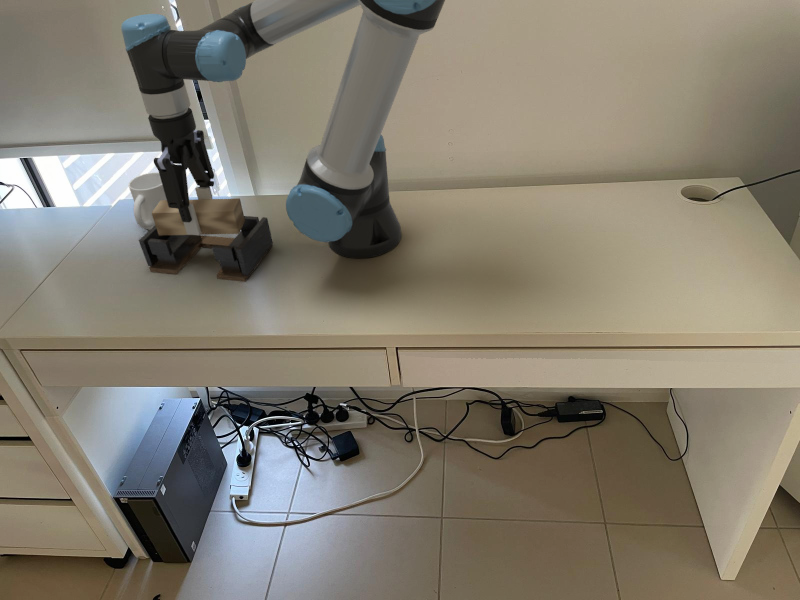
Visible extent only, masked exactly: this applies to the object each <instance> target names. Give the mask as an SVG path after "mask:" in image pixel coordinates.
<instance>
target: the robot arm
mask: <svg viewBox="0 0 800 600" xmlns="http://www.w3.org/2000/svg"><path fill="white" fill-rule="evenodd" d="M445 2H446V0H254V1H252V2H250V3H247V4H246V5H243V6H241V7H239V8H236V9H235V10H233V11H231V12H230V13H229V14H227V15H225V16H223V17H221V18H219V19H217V20H215V21H213V22H212V23H210V24H209V23H208V25H206V26H204V27H202V28H200V29H197V30H174V29H172V28H171V25H170V24H169V21H168V18H167V17H166V15H163V14H158V13H148V14H147V13H145V14H140V15H136V16H131V17H129V18H127V19H125V20H124V21H123V22H122V24H121V26H120V27H121V33H122V37H123V38H122V39H123V43H124V45H125V51H126V53H127V56H128V59H129V61H130V65H131V67H132V71H133V72H134V77H135V80H136V82H137V86H138V89H139V91H140V95H141V98H142V102H143V106H144V109H145V112H146V114H148V117H147V119H148V122H149V126H150V128H151V132H152V134H153V137H155V138H156V139H158V141H160V145H161V146H160V147H161V149H160V150H161V154H160V156H159V157H154V158H153V164H154V166H155V168H156V170H158V171H157V172H158V173H159V174H160V178H161V182H162V185H163V189H164V192H165V196H166V199H167V203H168V206H169V208H178V210H179V213H180V216H181V219H182V221H183V222H184V226H185V229H186V232H187V234H189V235H200V234H201V230H200V227H199V223H198V220H197V216H196V213H195V210H194V206H193V204H191V203H189V200H190V197H189V196H190V195H189V187H188V178H187V170H189V172H190V174H191V176H192V179H193V180H194V182H195V183H196V187H195V188H194V191H195V192H196V193H195V194H196V196H197V199H213V195H212V191H211V190H212V189H211V188H210V187H214V186H215V181H214V179H215V172H214V170H213V169H214V168H213V167H212V162H211V160H210V157H209V153H208V150H207V147H206V144H205V135H204V130H201V129H197V124H196V121H195V116H194V114H193V109H192V108H191V107H190V106H191V102H190V97H189V93H188V90H187V87H186V83H185V80H189V81H190V80H191V81H205V82H206V81H207V82H208V81H209V82H213V83H222V82H233V81H236V80H239V78H241V77H242V75H243V71H244V70H245V69H246V65H247V59H249V58H250V57H252V56H254V55H256V54H258V53H260V52H262V51H265V50H267V49H268V48H271V47H273V46H274V45H276V44H278V43H281V42H283V41H284V40H288V39H290V38H292V37H293V36H297V35H298V34H301V33H302V32H304V31H307V30H309V29H311V28H313V27H315V26H318V25H320V24H322V23H324V22H326V21H328V20H331V19H333V18H335V17H337V16H339V15H341V14H344V13H346V12H348V11H350V10H353V9H355V8H357V7H359V6H360V7H361V9H362V14H361V17H360V20H359V23H358V27H357V30H356V33H355V36H354V38H353V42H352V44H351V49H350V51H349V55H348V56H347V60H346V64H345V67H344V70H343V74H342V76H341V79H340V82H339V86H338V89H337V93H336V96H335V98H334V102H333V103H332V104H333V105H332V108H331V111H330V114H329V118H328V121H327V124H326V127H325V130H324V133H323V136H322V139H321V142H320V144H318V145H316V146H314V147H312V148H311V149H310V150H309V151H308V152H307V153H308V154H307V156H306V159H305V162H304V165H303V168H302V172H301V175H300V178H299V180H298V182H297V184H296V185H295V186H294V187H292V188H291V189H290V191H289V193H288V195H287V197H286V201H285V209H286V213H287V216H288V219H289V220H290V221H292V223H293V226H294V227H295V228H296V229H297V230H298V231H299V232H300V233H301V234H303V235H304V236H305V237H308V238H310V239H312V240H314V241H317V242H321V243H328V246H329V248H330V249H331V251H333V252H334V253H336V254H337V255H339V256H341V257H342V256H343V257H347V258H351V259H367V258H368V259H369V258H374V257H379V256H382V255H383V254H386V253H388V252H390V251H391V250H393V249H394V248H396V247H397V245H398V244H400V241H401V239H402V231H401V224H400V221H399V219H398V217H397V214H396V213H395V210H394V208H393V206H392V204H391V201H390V191H389V190H390V189H389V178H388V166H387V153H386V152H387V148H386V146H385V138H384V136H383V134H382V132H383V130H384V127H385V125H386V122H387V120H388V117H389V114H390V111H391V109H392V106H393V104H394V101H395V99H396V96H397V94H398V91H399V88H400V86H401V84H402V81H403V79H404V76H405V73H406V71H407V68H408V65H409V63H410V60H411V58H412V55H413V52H414V50H415V47H416V45H417V43H418V40H419V38H420V35H422V34H425V33H428V32H430V31H432V30H433V29H434V28H435V26H436V22H437V21H438V18H439V15H440V13H441V11H442V9H443V6H444V4H445Z"/></svg>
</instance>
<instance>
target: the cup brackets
mask: <svg viewBox="0 0 800 600" xmlns="http://www.w3.org/2000/svg"><path fill="white" fill-rule="evenodd" d="M244 218H245V222H244V224H243V226H242V228H241V230H240V232H239V234H236V235H235V238H234V237H223V236H214V235H213V236H211V235H159V234H158V231H157V228H156V225H155V226H154V227H153V228H152V229H151V230H149V231H147V232H146V233H145V234H144V235H143V236H142V237H141V238H140V239H139V240H138V242H139V246H140V247H141V251H142V253H143V256H144V258H145V261H146V265H147V266H148V269H149V272H150V273H158V274H159V273H160V274H168V275H169V274H171V275H178V274H179V273H180V271H182V270H183V268H184V267H185V266H186V265H187V264H188V263H189V262H190V260H191V259H193V257H194V256H195V255H196V254H197V253H199V251H200V250H201V248H204V249H212V252H213V255H214V258H215V259H214V260H215V261H216V262H219V264H220V265H219V266H220V269H219V271H218V272H216V274H215V276H216V278H217V280H224V281H225V280H226V281H227V280H228V281H236V282H243V283H244V282H247V280H248V279H249V277H250V276H251V275H252V273H253V272H254V271H255V269H256V268H257V267H258V266H259V264H260V262H261V261H263V259H264V258H265V256H266V255H267V254H268V252H269V251H270V250H271V248H273V243H274V242H273V237H272V233H271V232H272V231H271V229H270V224H269V218H268V217H265V216H264V217H261V219H260V218H259V216H250V215H244Z"/></svg>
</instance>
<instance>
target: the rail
mask: <svg viewBox="0 0 800 600" xmlns="http://www.w3.org/2000/svg"><path fill="white" fill-rule="evenodd" d="M189 203H191V204H193V206H194V210H195V213H196V216H197V220H198V223H199V227H200V230H201V234H200V235H203V236H208V235H238V234H239V233H240V232H241V228H242V226H243V224H244V222H245V218H244V216H245V215H244V210H243V206H242V202H241V198H240V197H239V198H212V199H198V198H197V199H196V198H195V199H189ZM152 216H153V219H154V222H155V225H156V228H157V231H158V234H159V235H189V234H187V232H186V229H185V226H184V222H183V221H182V219H181V216H180V213H179V210H178V208H169V206H168V203H167V200H160V202H159V203H158V205H157V206H156V207H155V209H154V210H153V212H152Z"/></svg>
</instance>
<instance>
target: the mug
mask: <svg viewBox="0 0 800 600" xmlns="http://www.w3.org/2000/svg"><path fill="white" fill-rule="evenodd" d="M128 188H129V191H130V194H131V197H132V200H133V202H134V203H133V216H134V219H135V222H136V223H137V225H138V226H139V227H140V228H142V229H144V230H145V229H147V230H151V229H152V228H153V227H154V226H155V222H154V219H153V216H152V212H153V210H154V209H155V207H156V206H157V205H158V203H159V202H160V200H167V199H166V196H165V192H164V189H163V185H162V182H161V178H160V174H159V172H158V171H157V172H148V173H144V174H141V175H138V176H136V177H134V178H133V179H131V180H130V181H129V182H128Z"/></svg>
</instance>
